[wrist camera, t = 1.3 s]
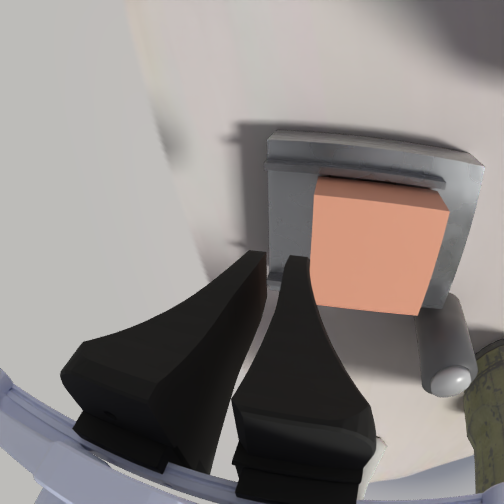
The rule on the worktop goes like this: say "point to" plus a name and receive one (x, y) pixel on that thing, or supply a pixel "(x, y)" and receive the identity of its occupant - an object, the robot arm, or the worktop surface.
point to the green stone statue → (487, 416)
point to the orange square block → (374, 244)
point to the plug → (445, 349)
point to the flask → (371, 467)
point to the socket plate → (365, 169)
